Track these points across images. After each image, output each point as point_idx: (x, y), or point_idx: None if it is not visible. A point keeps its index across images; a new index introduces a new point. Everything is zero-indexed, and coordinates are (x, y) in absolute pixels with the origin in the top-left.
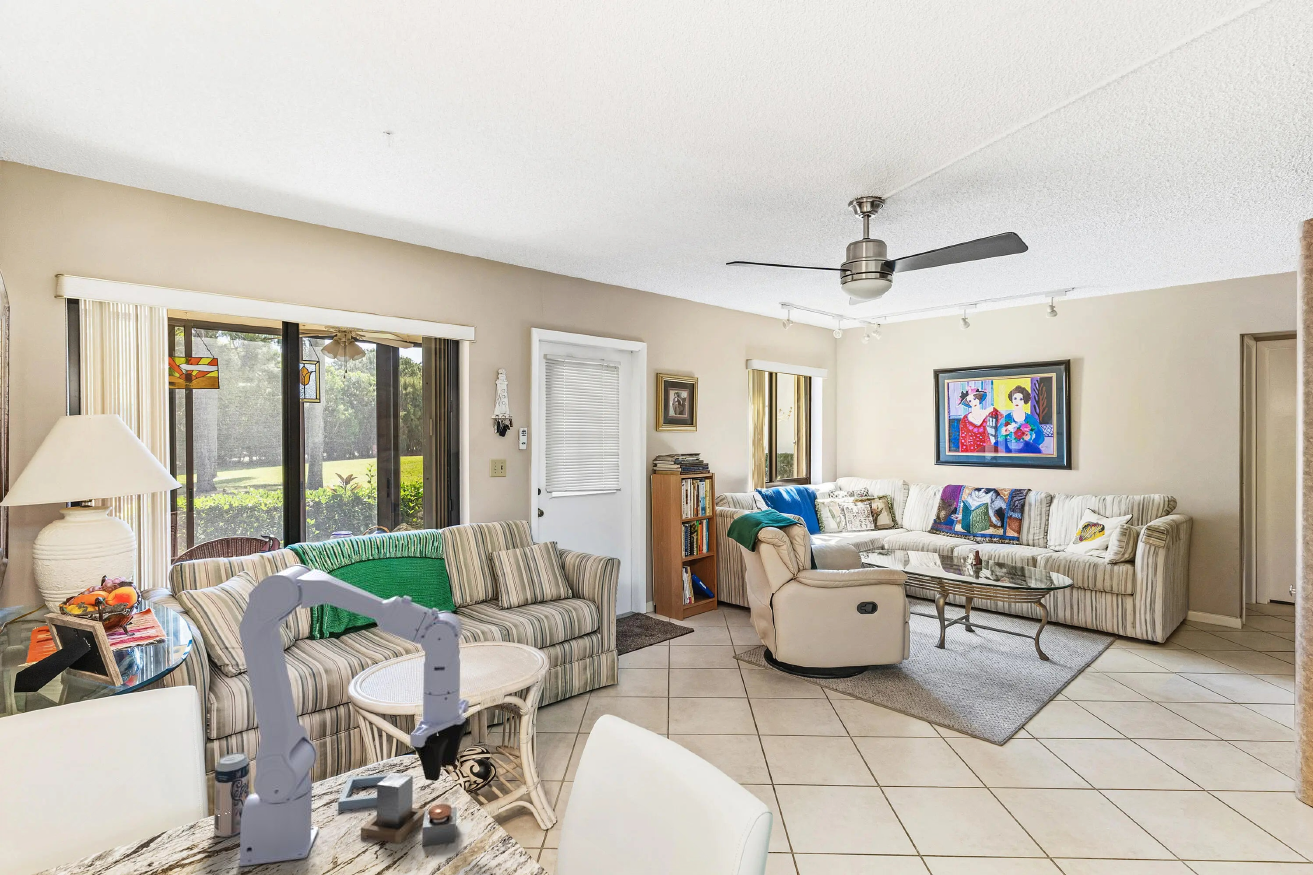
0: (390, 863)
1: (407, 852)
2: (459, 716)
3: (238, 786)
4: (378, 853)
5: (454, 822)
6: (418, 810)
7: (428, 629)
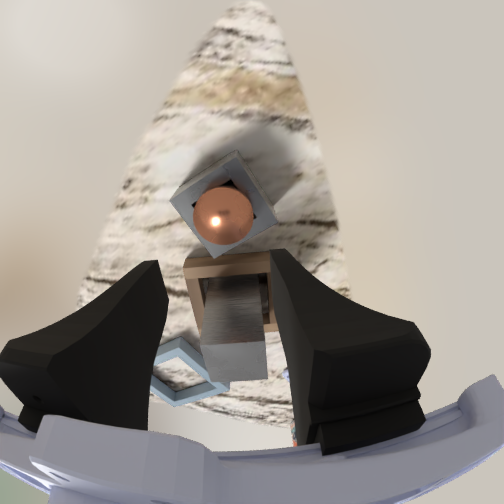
0: (336, 228)
1: (298, 221)
2: (94, 494)
3: None
4: (314, 266)
5: (232, 160)
6: (192, 281)
7: None
